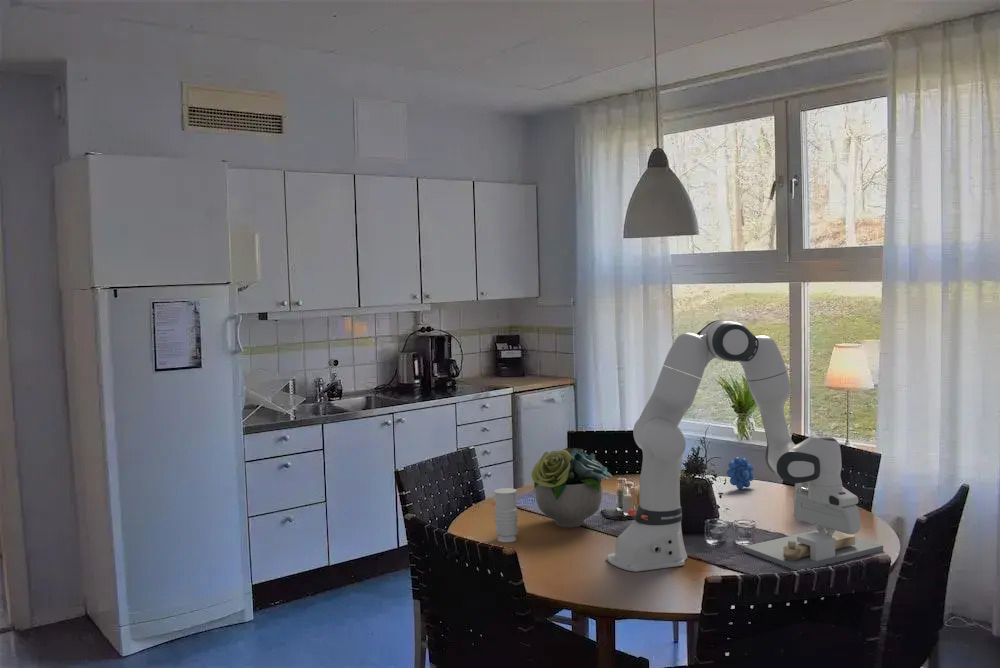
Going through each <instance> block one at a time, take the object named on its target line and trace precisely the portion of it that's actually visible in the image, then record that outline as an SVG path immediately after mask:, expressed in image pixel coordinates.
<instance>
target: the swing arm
mask: <svg viewBox="0 0 1000 668" xmlns="http://www.w3.org/2000/svg"><path fill="white" fill-rule="evenodd" d="M832 537H833V538H835V549H838V548H843V547H847V546H851V545H855V537H856V536H855V535H854V534H846V533H844V534H841V535H837V536H832ZM809 555H810V546H808V545H805V544H802V543H801V544H797V545H796V547H795V548H790V547H788V546H784V547H783V557H784V558H787V559H792V560H796V559H800V558H801V557H804V556H809Z"/></svg>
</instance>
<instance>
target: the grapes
mask: <svg viewBox="0 0 1000 668" xmlns="http://www.w3.org/2000/svg"><path fill="white" fill-rule="evenodd" d="M727 464H728V468H729V469H728V470H727V471H726V476H727V477H728V478H729V483H730V484H731V485H732V486H736V488H737V489H738V490H743V489H744V488H750V486H751V482H752V481H754V480H755V475H754V474H753V471H754V467H753V466H752V465H751V464H749V460H748V459H747V458H745V457H744V458H740V457H739V456H736V457H735V458H734V459H733V461H729V462H728V463H727Z"/></svg>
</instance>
